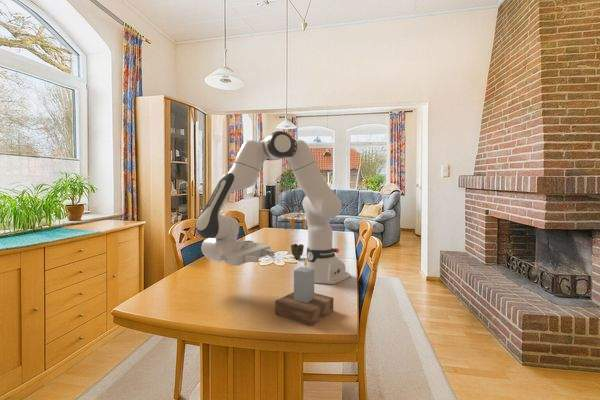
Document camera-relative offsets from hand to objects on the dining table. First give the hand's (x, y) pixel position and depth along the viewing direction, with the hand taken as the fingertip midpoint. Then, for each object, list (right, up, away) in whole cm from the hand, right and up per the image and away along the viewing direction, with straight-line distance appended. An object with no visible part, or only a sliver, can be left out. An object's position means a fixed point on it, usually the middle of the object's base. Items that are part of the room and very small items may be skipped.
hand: (265, 256), depth 111 cm
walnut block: (+14, -18, -8) cm, 24 cm away
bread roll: (+19, -14, +52) cm, 57 cm away
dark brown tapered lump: (+11, -13, +65) cm, 68 cm away
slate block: (+14, -13, -8) cm, 20 cm away
